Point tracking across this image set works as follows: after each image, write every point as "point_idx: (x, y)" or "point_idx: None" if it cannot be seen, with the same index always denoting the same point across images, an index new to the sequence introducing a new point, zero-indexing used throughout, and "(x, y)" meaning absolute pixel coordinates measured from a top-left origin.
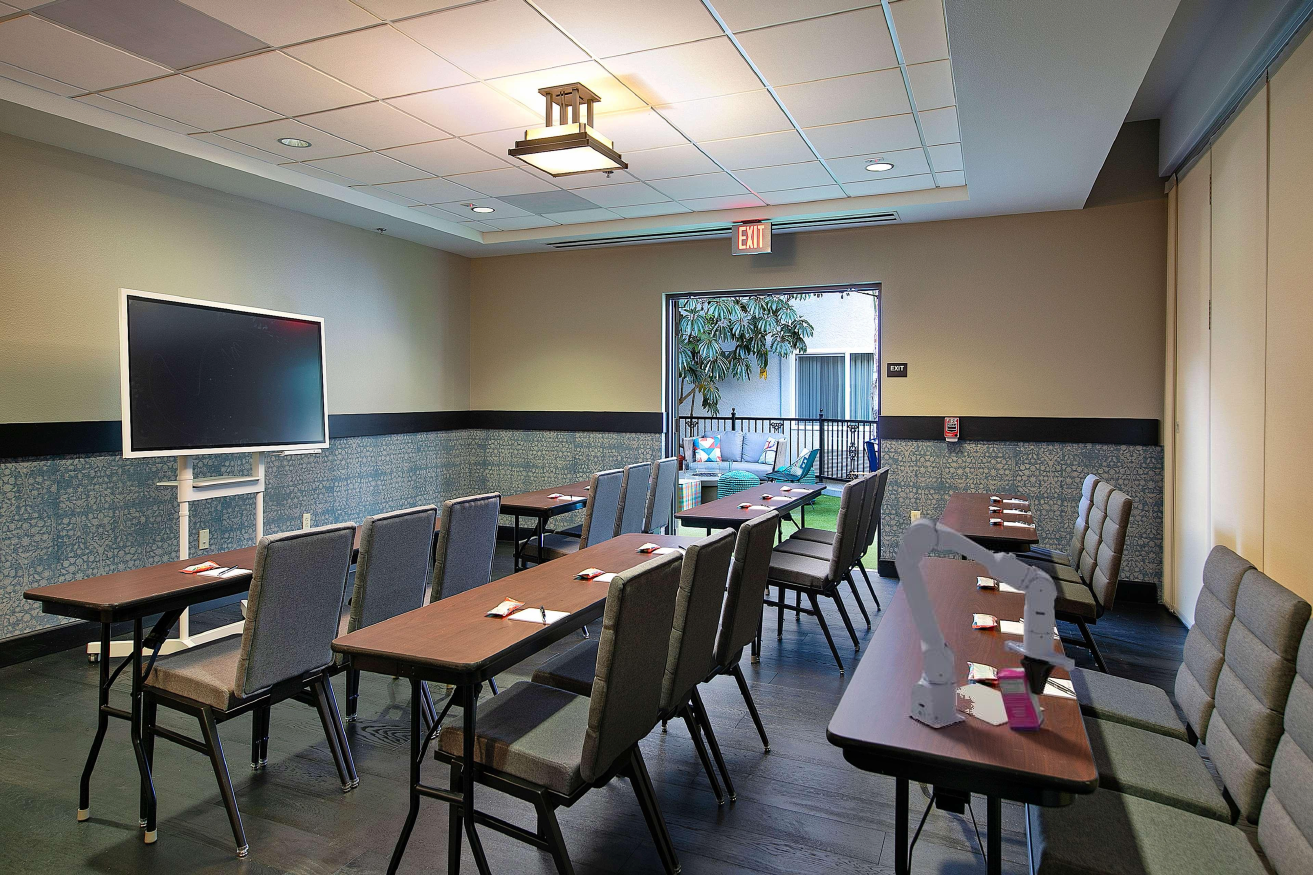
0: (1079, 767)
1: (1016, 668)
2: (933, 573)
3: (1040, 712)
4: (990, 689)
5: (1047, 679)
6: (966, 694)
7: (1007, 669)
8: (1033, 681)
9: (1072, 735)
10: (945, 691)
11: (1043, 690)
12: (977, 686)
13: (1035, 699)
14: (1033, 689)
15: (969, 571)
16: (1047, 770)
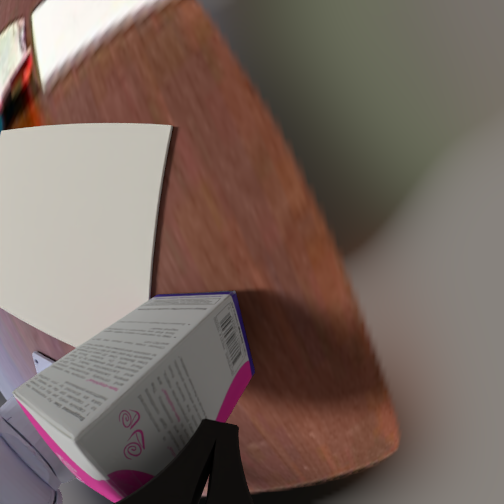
0: (386, 426)
1: (39, 418)
2: None
3: (224, 325)
4: (26, 136)
5: (248, 489)
6: (12, 226)
7: (28, 413)
8: (197, 501)
9: (334, 276)
10: (63, 467)
11: (238, 440)
12: (7, 149)
13: (201, 380)
14: (209, 472)
15: None
16: (336, 467)
